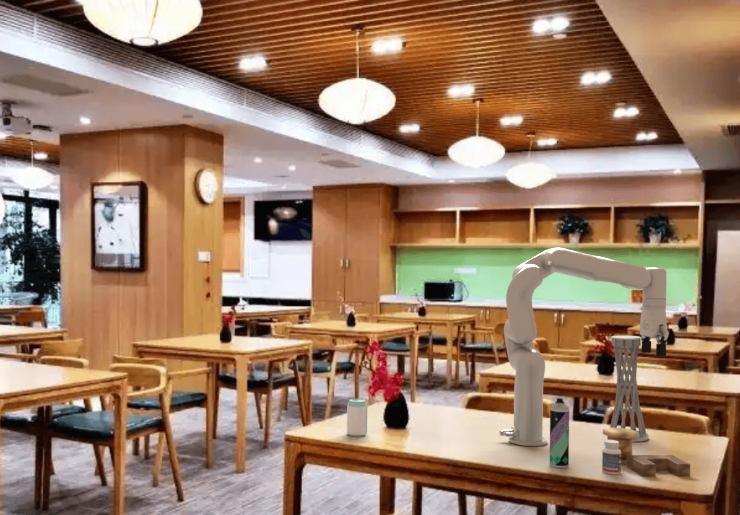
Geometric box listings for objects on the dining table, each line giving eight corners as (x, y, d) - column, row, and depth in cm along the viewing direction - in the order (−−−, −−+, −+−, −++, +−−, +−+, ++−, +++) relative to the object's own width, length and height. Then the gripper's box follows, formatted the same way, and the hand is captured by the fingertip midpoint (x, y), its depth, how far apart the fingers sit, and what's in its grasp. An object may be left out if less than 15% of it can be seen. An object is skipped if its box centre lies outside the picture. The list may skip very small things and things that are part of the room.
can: (343, 435, 243) (344, 400, 244) (351, 431, 250) (352, 397, 250) (362, 437, 241) (362, 402, 241) (370, 433, 247) (370, 399, 248)
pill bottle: (622, 475, 201) (622, 444, 201) (603, 474, 202) (603, 442, 202) (619, 470, 206) (619, 439, 206) (600, 469, 207) (601, 438, 208)
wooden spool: (610, 465, 212) (611, 435, 212) (597, 456, 221) (597, 427, 222) (642, 465, 212) (643, 435, 213) (627, 456, 222) (628, 427, 223)
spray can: (546, 463, 212) (547, 396, 213) (564, 463, 213) (565, 396, 213) (553, 468, 207) (554, 399, 207) (571, 468, 207) (572, 399, 208)
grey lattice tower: (628, 443, 239) (626, 339, 240) (599, 435, 251) (597, 336, 252) (657, 438, 246) (655, 337, 246) (626, 430, 258) (624, 334, 258)
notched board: (643, 476, 200) (643, 464, 200) (626, 467, 210) (626, 455, 210) (690, 476, 201) (690, 464, 201) (671, 466, 211) (671, 454, 211)
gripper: (631, 302, 249) (630, 351, 249) (656, 304, 232) (656, 357, 232) (651, 302, 250) (651, 351, 250) (678, 305, 233) (677, 357, 232)
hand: (653, 354), depth 241 cm, fingers open, 9 cm apart
